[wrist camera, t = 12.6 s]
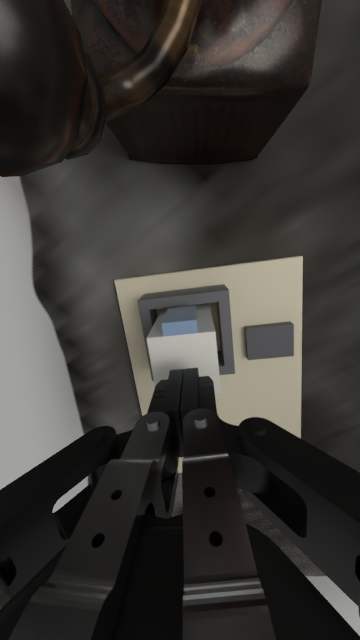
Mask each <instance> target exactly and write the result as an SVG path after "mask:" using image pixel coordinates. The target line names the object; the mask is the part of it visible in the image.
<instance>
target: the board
mask: <svg viewBox="0 0 360 640" xmlns="http://www.w3.org/2000/svg"><path fill="white" fill-rule="evenodd" d="M302 273H303V256H293V257H285V258H277V259H269V260H262V261H254V262H246V263H238V264H231V265H223V266H215V267H207V268H199V269H192V270H184V271H176V272H168V273H160V274H153V275H145V276H137V277H129V278H122V279H117V280H114V281H115V286H116V291H117V296H118V300H119V305H120V310H121V315H122V320H123V325H124V330H125V334H126V339H127V344H128V349H129V354H130V359H131V364H132V368H133V373H134V378H135V383H136V388H137V393H138V398H139V402H140V407H141V412H142V416H143V415H145V414H147V412H148V408H149V405H150V402H151V399H152V395H153V393H154V389H155V384H154V378H153V373H152V367H151V361H150V356H149V350H148V344H147V339H146V338H147V336H148V334H149V333H150V331H151V329H152V327H153V325H154V323H155V321H156V320H157V318H158V316H159V314H160V312H161V310H162V308H168V307H177V306H185V305H194V304H203V303H209V307H210V311H211V315H212V319H213V323H214V327H215V331H216V342H217V353H218V364H219V375H220V386H221V393H215V400H216V408H217V414H218V416H219V418H220V419H221V420H223V421H224V422H226V423H228V424H232V425H237V426H239V424H240V423H241V422H242V421H243V420H245V419H247V418H251V417H260V418H265V419H267V420H269V421H271V422H273V423H275V424H276V425H278V426H280V427H281V428H283V429H285V430H287V431H288V432H290V433H292V434H294V435H295V436H297V437H299V438H300V439H301V371H302ZM183 458H184V457H179V463H178V472H179V473H182V459H183Z"/></svg>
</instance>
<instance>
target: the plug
mask: <svg viewBox="0 0 360 640" xmlns="http://www.w3.org/2000/svg"><path fill="white" fill-rule="evenodd" d="M146 339H147V344H148V350H149V356H150V361H151V367H152V373H153V378H154V384H155V386H156V385H157V383H158V382H159V381H160V380H165V379H168V377H169V372H170V370H175V369H186V368H198V371H199V377H201V376H209V377H210V378H211V379H212V380H213V383H214V392H215V393H221V386H220V375H219V364H218V353H217V342H216V331H215V327H214V323H213V319H212V315H211V311H210V307H209V303H203V304H194V305H185V306H177V307H168V308H162V310H161V312H160V314H159V316H158V318H157V320H156V321H155V323H154V325H153V327H152V329H151V331H150V333H149V334H148V336H147V338H146Z"/></svg>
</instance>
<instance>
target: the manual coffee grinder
mask: <svg viewBox="0 0 360 640" xmlns="http://www.w3.org/2000/svg"><path fill="white" fill-rule="evenodd" d="M321 3H322V0H71V7H72V16H71V14H70V12H69V10H68V8H67V6H66V4H65V2H64V0H0V176H1V177H9V176H23V175H26V174H29V173H31V172H34V171H37V170H40V169H43V168H46V167H49V166H51V165H54V164H57V163H60V162H62V161H63V160H64V158H65V159H68V160H69V159H72V158H76V157H79V156H83V155H86V154H88V153H89V152H90V151H91V150H92V149H93V148H94V147H95V146H96V145H97V144H98V143H99V142H100V140H101V137H102V133H103V128H104V124H105V122H106V123H107V125H108V126H109V128H110V129H111V130H112V132H113V133H114V135H115V136H116V137H117V139H118V140H119V142H120V143H121V144H122V146H123V147H124V149H125V150H126V152H127V153H128V155H129V159H132V160H140V161H147V162H155V163H172V164H221V163H227V162H234V161H240V160H246V159H253V158H257V156H258V154H259V153H260V152H261V150H262V149H263V148H264V147H265V145H266V144H267V143H268V141H269V140H270V139H271V137H272V136H273V135H274V133H275V132H276V131H277V129H278V128H279V127H280V125H281V124H282V123H283V121H284V120H285V119H286V117H287V116H288V114H289V113H290V112H291V110H292V109H293V108H294V106H295V105H296V103H297V102H298V101H299V99H300V98H301V97H302V95H303V94H304V92H305V91H306V90H307V88H308V86H309V84H310V82H311V74H312V67H313V59H314V52H315V44H316V37H317V30H318V23H319V16H320V10H321Z"/></svg>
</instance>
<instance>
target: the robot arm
mask: <svg viewBox="0 0 360 640" xmlns="http://www.w3.org/2000/svg"><path fill="white" fill-rule="evenodd" d="M179 457H184V458H183V459H182V486H183V514H181V515H178V516H175V517H172V512H173V506H174V500H175V494H176V488H177V482H178V475H179V472H178V463H179ZM87 476H88V477H89V480H90V483H91V484H89V485H88V486H87V487H86V488H85V489H83V490H82V491H81V492H80V493H78V494H77V495H76V496H75V497H74V498H73V499H71V500H70V501H69V502H68V503H66V504H65V505H64V506H63V507H62V508H60V509H59V510H58V511H56V512H55V513H52V510H53V507H54V505H55V503H56V502H57V500H58V499H59V498H60V497H61V496H63V495H64V494H65V493H67V492H68V491H69V490H70V489H72V488H73V487H74V486H75V485H77V484H78V483H79V482H81V481H82V480H83V479H84V478H86V477H87ZM237 488H239V489H243V491H244V494H245V496H246V497H247V498H248V499H249V500H250V501H251V502H252V503H253V504H254V505H255V506H256V507H257V508H258V509H259V510H260V511H261V512H262V513H263V514H264V515H265V516H266V517H267V518H268V519H269V520H270V521H271V522H272V523H273V524H274V525H275V526H276V527H277V528H278V529H279V530H280V531H281V532H282V533H283V534H284V535H286V536H287V537H288V538H289V539H290V540H291V541H292V542H293V543H294V544H295V545H296V546H297V547H298V548H299V549H300V550H301V551H302V552H303V553H304V554H305V555H306V556H307V557H308V558H309V559H310V560H311V561H312V562H313V563H314V564H315V565H316V566H317V567H318V568H319V569H320V570H322V571H323V572H324V573H325V574H326V575H327V576H328V577H329V578H330V579H331V580H332V581H333V582H334V583H335V584H336V585H337V586H338V587H339V588H340V589H341V590H342V591H343V592H344V593H345V594H346V595H347V596H348V597H349V598H350V599H351V600H352V601H353V602H354V603H356V604H357V605H358V606H359V616H360V473H359V472H357V471H356V470H354V469H352V468H350V467H349V466H347V465H345V464H344V463H342V462H340V461H338V460H337V459H335V458H333V457H331V456H330V455H328V454H326V453H325V452H323V451H321V450H319V449H318V448H316V447H314V446H312V445H311V444H309V443H307V442H306V441H304V440H302V439H300V438H299V437H297V436H295V435H294V434H292V433H290V432H288V431H287V430H285V429H283V428H281V427H280V426H278V425H276V424H275V423H273V422H271V421H269V420H267V419H265V418H260V417H251V418H247V419H245V420H243V421H242V422H241V423H240V424H239V426H237V425H232V424H228V423H226V422H224V421H223V420H221V419H220V418H219V416H218V414H217V408H216V400H215V392H214V383H213V380H212V379H211V378H210V377H209V376H201V377H199V371H198V368H186V369H175V370H170V372H169V377H168V379H165V380H160V381H159V382H158V383H157V385H156V386H155V389H154V393H153V395H152V399H151V402H150V405H149V408H148V412H147V414H145V415H143V416H142V417H141V418H140V419H139V420H138V421H137V423H136V425H135V427H134V429H133V430H131V431H128V432H124V433H121V434H118V435H116V431H115V429H114V428H112V427H110V426H102V427H98V428H95V429H93V430H91V431H89V432H88V433H86V434H85V435H83V436H82V437H80V438H79V439H77V440H76V441H74V442H73V443H71V444H70V445H68V446H67V447H65V448H63V449H62V450H60V451H59V452H57V453H56V454H54V455H53V456H51V457H50V458H48V459H47V460H45V461H44V462H42V463H41V464H39V465H38V466H36V467H34V468H33V469H31V470H30V471H29V472H27V473H25V474H24V475H22V476H21V477H19V478H18V479H16V480H15V481H13V482H12V483H10V484H9V485H7V486H6V487H4V488H3V489H1V490H0V640H360V636H359V635H358V634H357V633H356V632H355V631H354V630H353V629H352V627H351V626H350V625H349V624H348V623H347V622H346V621H345V620H344V618H343V617H342V616H341V615H340V614H339V613H338V612H337V611H336V610H335V609H334V608H333V606H332V605H331V604H330V603H329V602H328V601H327V600H326V599H325V598H324V597H323V595H322V594H320V592H319V591H318V590H317V589H316V588H315V587H314V586H313V584H312V583H311V582H310V581H309V580H308V579H307V578H306V577H305V576H304V574H303V573H302V572H301V571H300V570H299V569H298V568H297V567H296V566H295V564H294V563H293V562H292V561H291V560H290V559H289V558H288V557H287V556H286V555H285V553H284V552H283V551H282V550H281V549H280V548H279V547H278V546H277V545H276V544H275V543H274V542H273V541H272V540H271V539H269V538H268V537H267V536H266V535H264V534H263V533H261V532H260V531H259V530H257V529H255V528H253V527H252V526H250V525H247V524H245V520H244V516H243V512H242V508H241V503H240V499H239V495H238V491H237Z"/></svg>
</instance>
